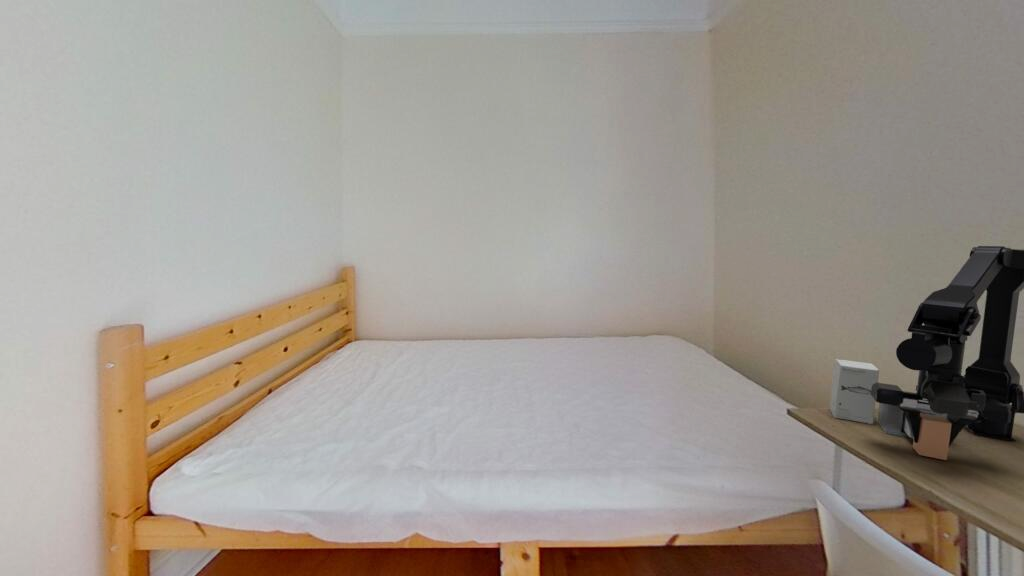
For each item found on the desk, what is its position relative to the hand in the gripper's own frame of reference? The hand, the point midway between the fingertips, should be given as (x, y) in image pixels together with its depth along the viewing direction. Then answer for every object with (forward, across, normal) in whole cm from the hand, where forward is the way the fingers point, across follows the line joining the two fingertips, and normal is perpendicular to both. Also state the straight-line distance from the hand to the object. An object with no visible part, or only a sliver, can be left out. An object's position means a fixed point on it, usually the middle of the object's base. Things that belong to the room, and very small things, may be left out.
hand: (930, 444), depth 87 cm
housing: (+2, 0, +12) cm, 13 cm away
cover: (+2, 0, +4) cm, 5 cm away
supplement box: (+2, -10, +16) cm, 19 cm away
